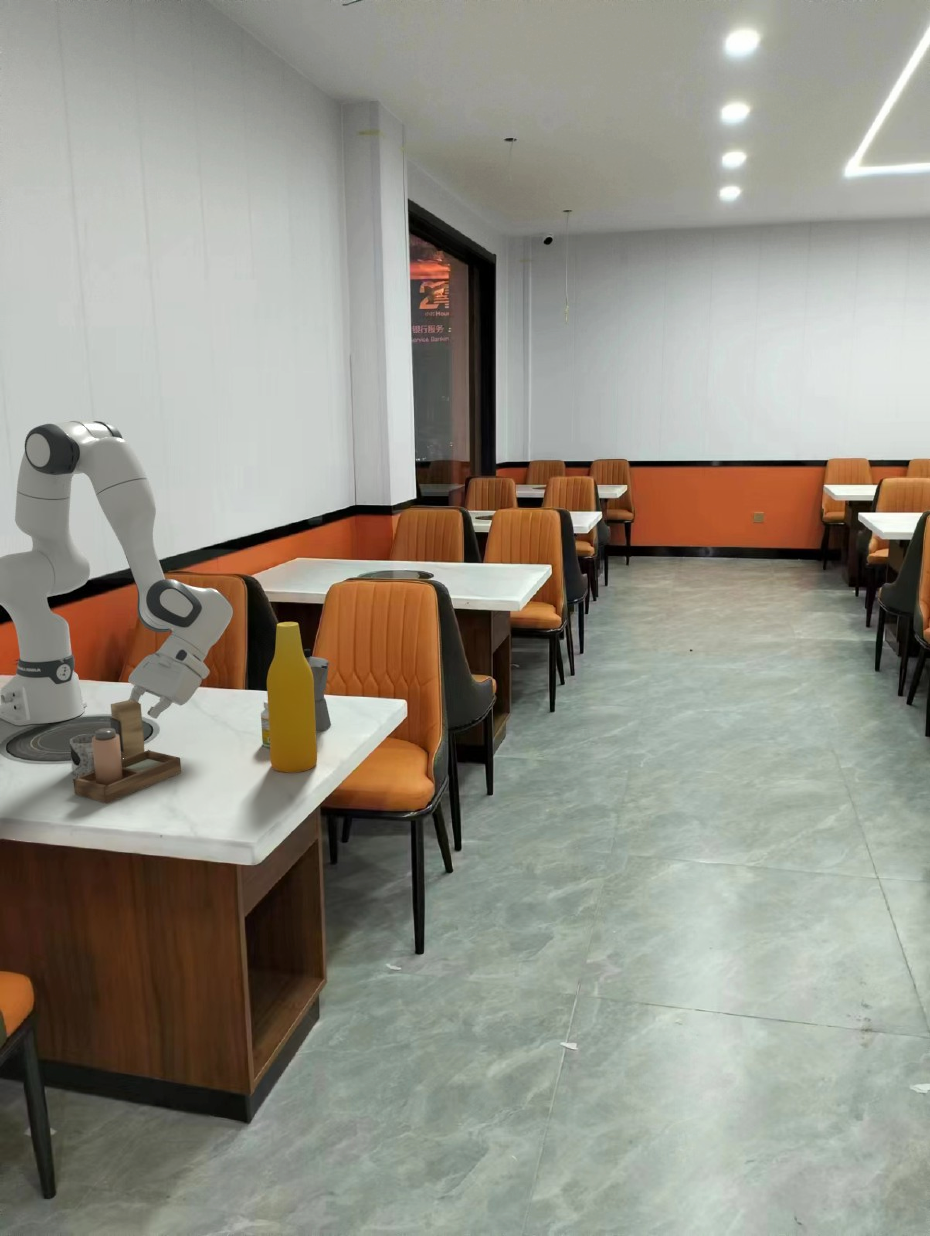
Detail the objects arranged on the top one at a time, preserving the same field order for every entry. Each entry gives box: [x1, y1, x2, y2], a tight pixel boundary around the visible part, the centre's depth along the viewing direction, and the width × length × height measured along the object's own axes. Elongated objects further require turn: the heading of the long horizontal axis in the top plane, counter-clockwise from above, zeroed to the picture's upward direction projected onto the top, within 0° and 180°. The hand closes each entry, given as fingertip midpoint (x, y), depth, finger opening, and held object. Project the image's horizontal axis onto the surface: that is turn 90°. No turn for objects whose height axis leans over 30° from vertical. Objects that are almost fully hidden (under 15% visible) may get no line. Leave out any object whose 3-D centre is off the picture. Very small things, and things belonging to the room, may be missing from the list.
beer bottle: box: [266, 621, 318, 773], centre depth 196 cm, size 9×9×29 cm
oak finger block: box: [109, 699, 145, 760], centre depth 205 cm, size 4×5×11 cm
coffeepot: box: [303, 648, 332, 733], centre depth 222 cm, size 15×9×18 cm, turn 49°
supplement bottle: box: [260, 698, 270, 748], centre depth 211 cm, size 5×5×10 cm
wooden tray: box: [72, 749, 182, 804], centre depth 190 cm, size 9×18×3 cm, turn 149°
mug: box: [69, 732, 95, 777], centre depth 195 cm, size 10×7×7 cm
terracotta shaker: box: [92, 727, 123, 786], centre depth 185 cm, size 5×5×10 cm
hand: (140, 711), depth 206 cm, fingers open, 8 cm apart
